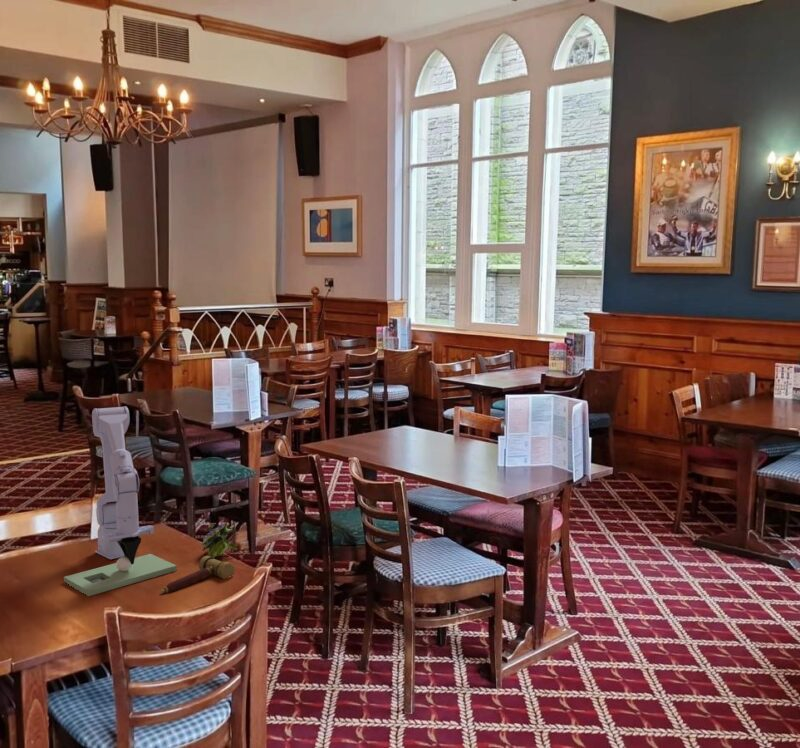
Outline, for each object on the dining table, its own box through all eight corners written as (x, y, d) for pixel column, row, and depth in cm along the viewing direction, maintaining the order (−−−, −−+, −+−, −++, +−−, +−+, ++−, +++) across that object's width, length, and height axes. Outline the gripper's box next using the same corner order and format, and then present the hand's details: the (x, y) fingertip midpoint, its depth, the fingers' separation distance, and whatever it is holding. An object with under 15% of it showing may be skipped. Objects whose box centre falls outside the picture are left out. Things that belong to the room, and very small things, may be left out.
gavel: (172, 588, 212) (148, 579, 218) (173, 604, 213) (150, 595, 219) (234, 561, 228) (210, 553, 234) (235, 576, 229) (211, 568, 235)
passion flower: (211, 568, 249) (215, 530, 255) (244, 565, 247) (247, 526, 252) (192, 558, 240) (197, 519, 246) (226, 554, 237) (230, 515, 243)
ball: (127, 561, 231) (118, 572, 229) (120, 552, 229) (110, 564, 226) (137, 564, 229) (127, 575, 226) (129, 555, 227) (120, 566, 224)
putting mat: (64, 582, 223) (63, 576, 223) (150, 558, 242) (150, 553, 242) (88, 596, 214) (88, 590, 213) (176, 570, 232) (176, 565, 232)
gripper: (110, 524, 219) (112, 573, 220) (158, 512, 230) (160, 560, 231) (97, 519, 224) (99, 568, 225) (145, 508, 234) (147, 555, 236)
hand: (129, 563), depth 228 cm, fingers closed, pressing on ball
